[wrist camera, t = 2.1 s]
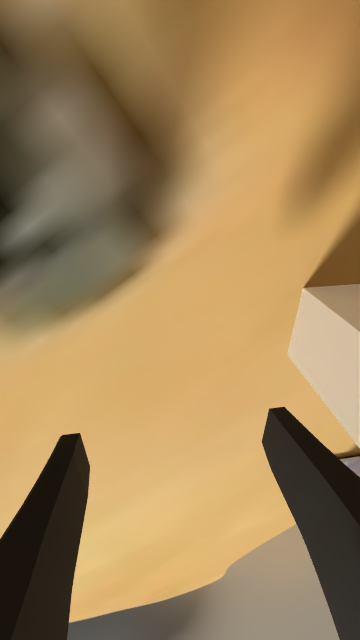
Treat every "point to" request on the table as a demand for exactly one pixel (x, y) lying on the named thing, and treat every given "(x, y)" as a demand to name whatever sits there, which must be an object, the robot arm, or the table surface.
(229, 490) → the table surface
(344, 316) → the tall block
